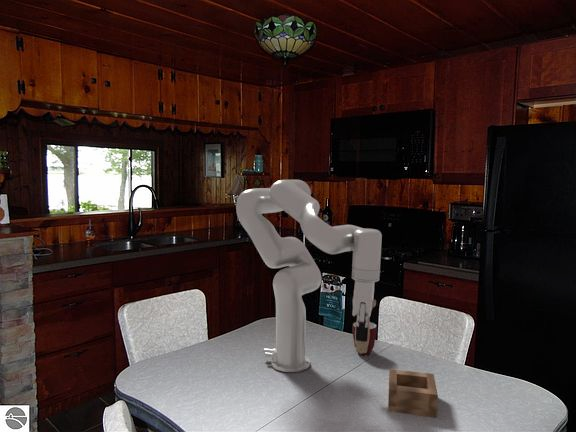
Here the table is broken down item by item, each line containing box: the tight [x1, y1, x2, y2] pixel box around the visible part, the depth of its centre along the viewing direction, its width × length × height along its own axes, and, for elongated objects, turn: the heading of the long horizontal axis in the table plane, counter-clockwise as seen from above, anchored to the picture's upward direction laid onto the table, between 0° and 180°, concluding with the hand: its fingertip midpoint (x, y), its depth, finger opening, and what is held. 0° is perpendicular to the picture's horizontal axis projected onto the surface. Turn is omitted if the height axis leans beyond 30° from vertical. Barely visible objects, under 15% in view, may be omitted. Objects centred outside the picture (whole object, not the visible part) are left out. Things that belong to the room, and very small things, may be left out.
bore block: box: [387, 368, 439, 418], centre depth 118 cm, size 12×12×6 cm
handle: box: [352, 297, 377, 354], centre depth 123 cm, size 5×6×15 cm
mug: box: [352, 321, 378, 356], centre depth 151 cm, size 11×8×10 cm
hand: (362, 336), depth 123 cm, fingers closed on handle, 3 cm apart
